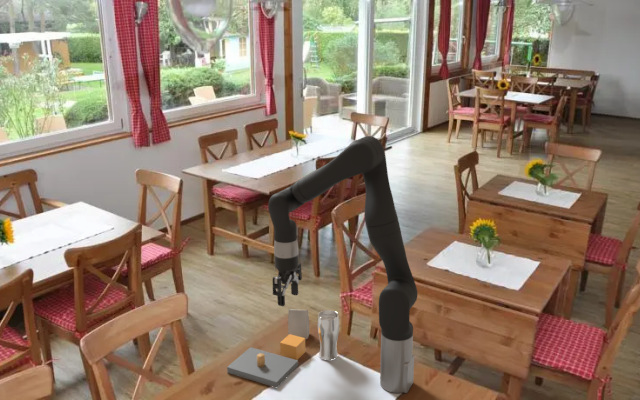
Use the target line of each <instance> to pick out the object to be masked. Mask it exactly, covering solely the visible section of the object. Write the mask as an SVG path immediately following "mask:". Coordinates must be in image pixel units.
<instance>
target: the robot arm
mask: <svg viewBox="0 0 640 400" xmlns="http://www.w3.org/2000/svg"><path fill="white" fill-rule="evenodd" d="M387 166H388V165H387V157H386V151H385V148H384V145H383V144H382V142H381V141H380V140H379V139H378V138H377V137H375V136H372V135H371V136H370V135H369V136H368V135H367V136H364V137H361V138H359V139H356V140H354V141H352V142H351V143H350V144H349V145H347V147H345V149H343V150H342V151H341V152H340V153H339V154H338V155H337V156H335V158H333V159H332V160H330V161H329V162H328V163H326V164H325V165H322V166H321V167H319V168H318V169H315V170H314V171H312V172H310V173H308V174H307V175H305V176H303V177H302V178H301V177H300V179H298V180H297V181H296V182H294V183H293V184H292V185H290V186H289V187H286V188H284V189H283V190H280V191H278V192H276V193H274V194H272V195H271V196H270V198H269V200H268V206H267V208H268V209H267V210H268V213H269V216H270V220H271V222H272V226H273V230H274V231H273V234H274V235H273V236H274V238H273V239H274V242H273V252H274V253H273V254H274V256H273V257H274V267H275V269H277V271H278V274H277V276H273V277H272V295H273V296H277V297H276V299H277V306H280V307H285V305H286V299H285V295H286V290H287V289H288V288H289V285H290V292H291V293H290V294H291V295H292V296H298V295H299V285H300V284H299V283H300V281H302V279H303V276H302V275H303V273H302V263H299V262H300V257H299V256H300V255H299V242H298V232H297V231H298V229H297V223H296V221H295V220H293V219H291V218H290V213H292V212H293V211H295V210H297V209H299V208H300V207H301V206H303V205H304V204H305V203H308V202H310V201H313V200H315V199H316V198H317V197H319V196H321V195H322V194H325V193H326V192H327V191H328V190H330V189H331V188H333V187H334V186H335V185H337V184H339V183H340V182H342V181H345V180H347V179H350V178H352V177H355V176H359V175H362V177H363V182H364V186H365V201H364V202H365V203H364V221H365V222H364V223H365V228H366V231H367V235H368V239H369V241H370V242H369V243H370V244H371V246H372V248H373V249H374V250H375V252H376V253H377V255H378V256H379V257H380V259H381V261H382V262H383V265H384V269H385V274H386V278H387V285H386V286H385V287H384V288H383V289H382V290H381V292H380V293H379V297H378V324H379V327H380V329H381V330H380V332H381V333H380V364H379V365H380V369H379V370H380V371H379V372H380V374H379V375H380V376H379V384H380V386H381V387H382V389H384V390H385V391H387V392H390V393H395V394H399V393H404V394H407V393H408V392H409V390H410V389H411V387H412V385H413V384H414V376H415V375H414V372H415V371H414V370H415V355H414V354H413V343H414V340H413V339H414V325H413V323H412V322H411V321H410V310H411V309H412V307H414V305H415V304H416V301H417V299H418V294H419V293H418V288H417V285H416V282H415V280H414V276H413V274H412V270H411V267H410V265H409V264H410V263H409V262H408V259H407V258H408V257H407V252H406V249H405V245H404V244H405V243H404V239H403V236H402V230H401V226H400V222H399V217H398V214H397V209H396V206H395V201H394V197H393V194H392V189H391V186H390V180H389V173H388V172H389V171H388V167H387Z"/></svg>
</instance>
